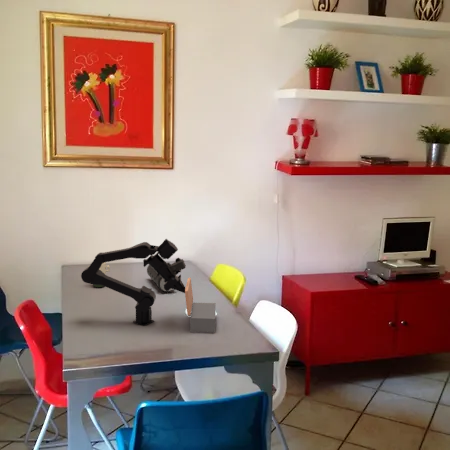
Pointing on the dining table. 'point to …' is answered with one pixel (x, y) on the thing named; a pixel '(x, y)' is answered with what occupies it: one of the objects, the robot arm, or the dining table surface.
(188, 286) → the lid
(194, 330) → the cable box
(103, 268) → the trophy cup
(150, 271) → the muzzle brake
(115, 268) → the dining table surface
